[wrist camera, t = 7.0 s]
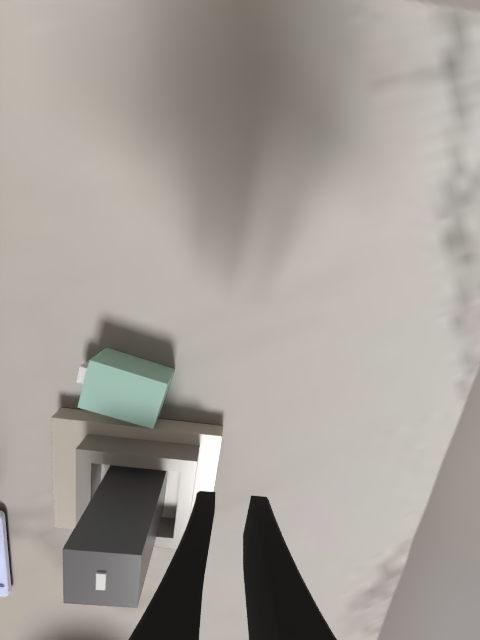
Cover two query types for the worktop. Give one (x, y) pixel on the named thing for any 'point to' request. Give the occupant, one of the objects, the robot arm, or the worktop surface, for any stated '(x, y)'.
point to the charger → (115, 539)
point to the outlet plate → (131, 463)
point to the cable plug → (124, 387)
